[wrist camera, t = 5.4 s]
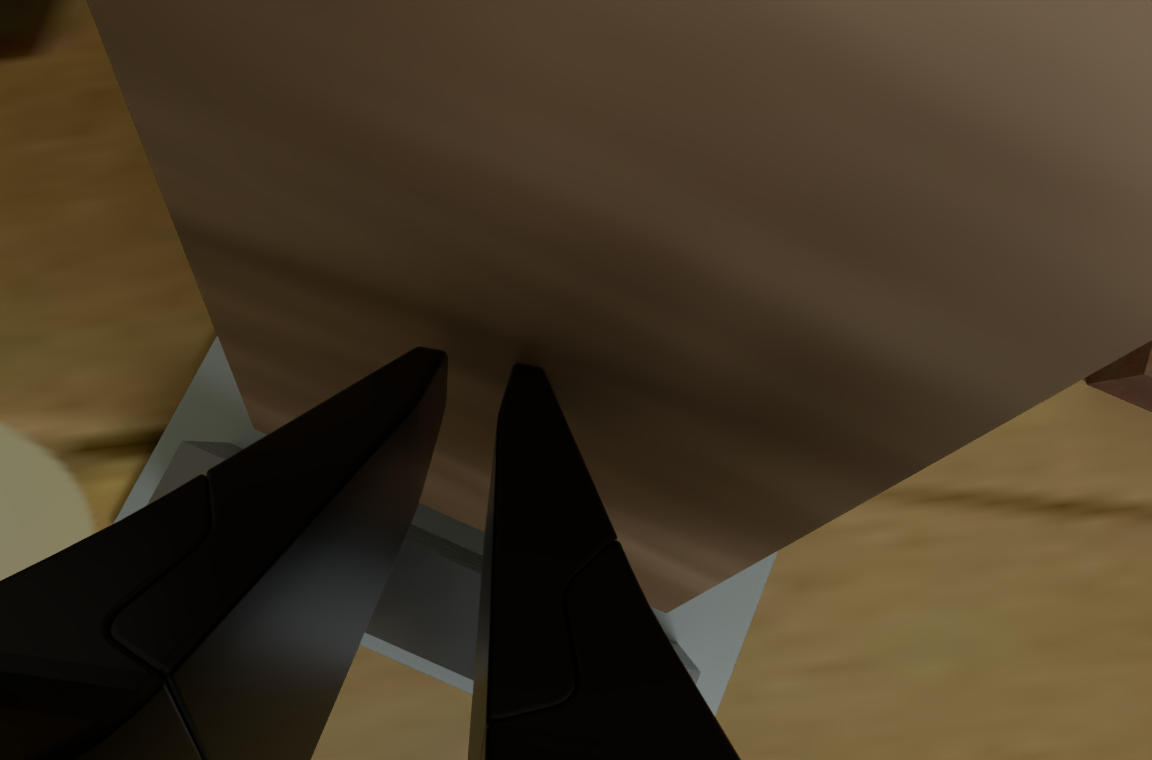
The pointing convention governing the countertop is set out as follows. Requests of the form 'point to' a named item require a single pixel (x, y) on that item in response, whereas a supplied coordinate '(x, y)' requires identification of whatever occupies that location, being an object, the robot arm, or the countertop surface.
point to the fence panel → (663, 229)
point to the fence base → (400, 581)
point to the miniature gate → (1128, 377)
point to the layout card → (459, 540)
